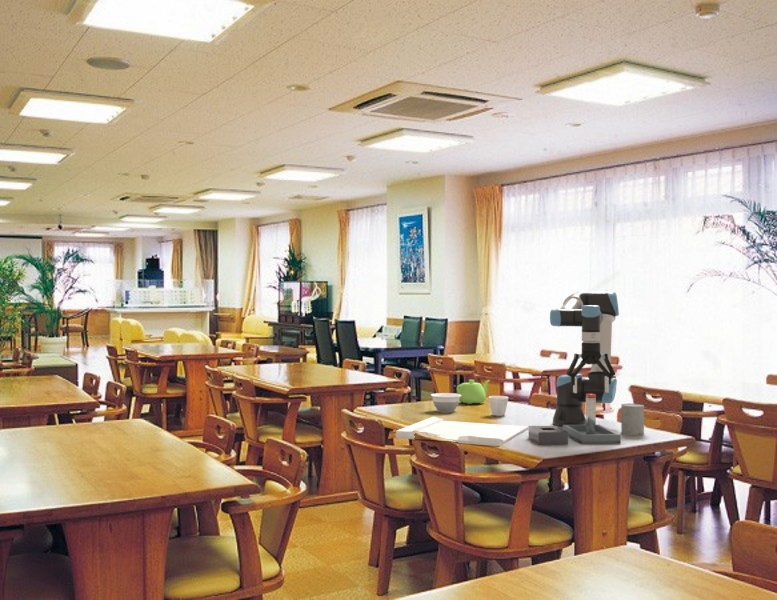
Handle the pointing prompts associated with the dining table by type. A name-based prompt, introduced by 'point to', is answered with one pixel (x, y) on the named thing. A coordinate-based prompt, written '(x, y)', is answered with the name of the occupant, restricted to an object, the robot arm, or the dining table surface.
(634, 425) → the grey cylinder
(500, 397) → the cup
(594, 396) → the lynch pin
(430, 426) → the white flat slab
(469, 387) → the teapot
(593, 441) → the slate tray
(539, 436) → the block
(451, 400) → the bowl
